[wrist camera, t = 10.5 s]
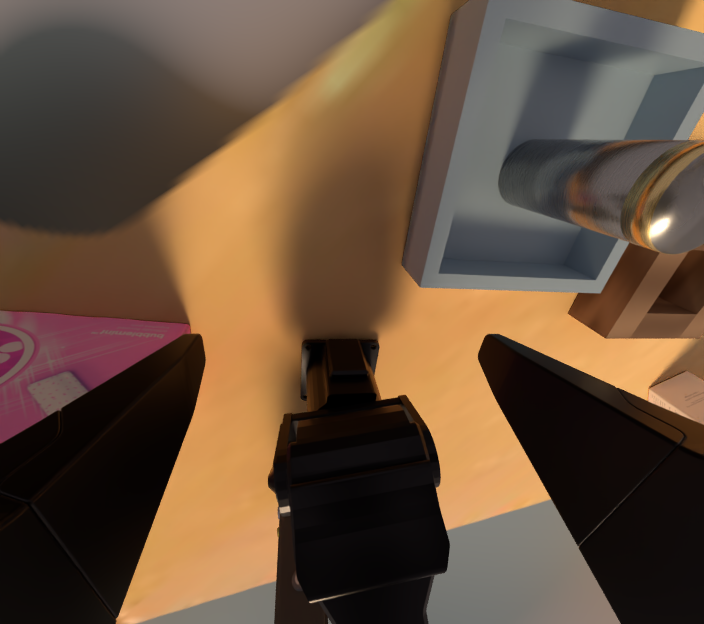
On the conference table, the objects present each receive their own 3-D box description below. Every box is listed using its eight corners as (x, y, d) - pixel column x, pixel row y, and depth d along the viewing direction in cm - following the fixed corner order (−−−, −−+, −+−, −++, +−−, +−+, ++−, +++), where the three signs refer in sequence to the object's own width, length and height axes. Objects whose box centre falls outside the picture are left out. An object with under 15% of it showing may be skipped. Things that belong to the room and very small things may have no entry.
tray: (559, 272, 25) (600, 293, 22) (401, 264, 23) (420, 287, 19) (660, 60, 18) (743, 42, 15) (451, 14, 16) (493, -20, 12)
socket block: (653, 315, 30) (699, 338, 26) (567, 313, 28) (605, 338, 24) (725, 211, 25) (794, 222, 21) (627, 200, 23) (685, 211, 19)
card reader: (279, 454, 31) (266, 672, 19) (317, 450, 32) (330, 658, 19) (284, 502, 36) (277, 703, 23) (318, 497, 37) (329, 691, 24)
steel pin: (541, 208, 21) (707, 257, 12) (489, 203, 20) (629, 252, 12) (567, 142, 19) (785, 147, 11) (511, 134, 18) (697, 132, 10)
